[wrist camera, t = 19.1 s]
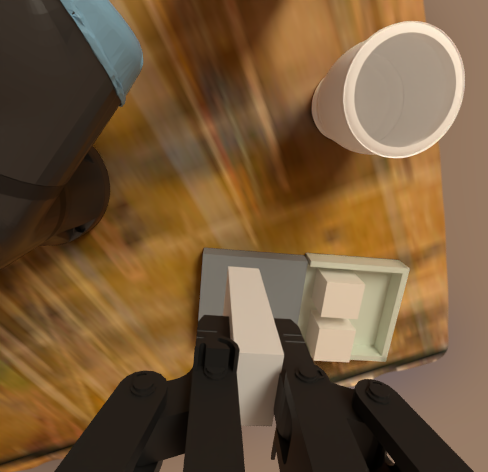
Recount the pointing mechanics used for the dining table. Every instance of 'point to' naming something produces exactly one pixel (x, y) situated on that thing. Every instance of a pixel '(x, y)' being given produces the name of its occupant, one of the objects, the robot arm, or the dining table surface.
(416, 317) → the dining table surface
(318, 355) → the block
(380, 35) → the jar
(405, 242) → the dining table surface
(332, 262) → the tray
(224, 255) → the board
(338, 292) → the block
